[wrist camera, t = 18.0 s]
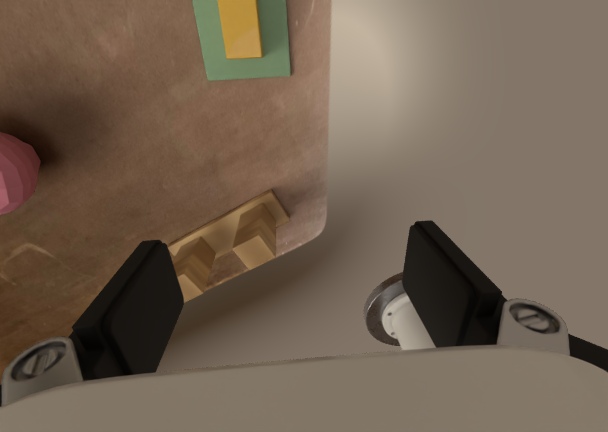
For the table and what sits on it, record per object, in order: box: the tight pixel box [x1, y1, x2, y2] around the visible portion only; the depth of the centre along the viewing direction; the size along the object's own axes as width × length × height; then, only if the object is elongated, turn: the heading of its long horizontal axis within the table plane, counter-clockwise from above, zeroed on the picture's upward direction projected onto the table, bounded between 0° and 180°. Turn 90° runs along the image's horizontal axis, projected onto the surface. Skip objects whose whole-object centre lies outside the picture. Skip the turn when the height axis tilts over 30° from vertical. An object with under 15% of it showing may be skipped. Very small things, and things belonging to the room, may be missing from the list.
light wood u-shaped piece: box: [168, 189, 290, 302], centre depth 36 cm, size 17×5×9 cm, turn 118°
